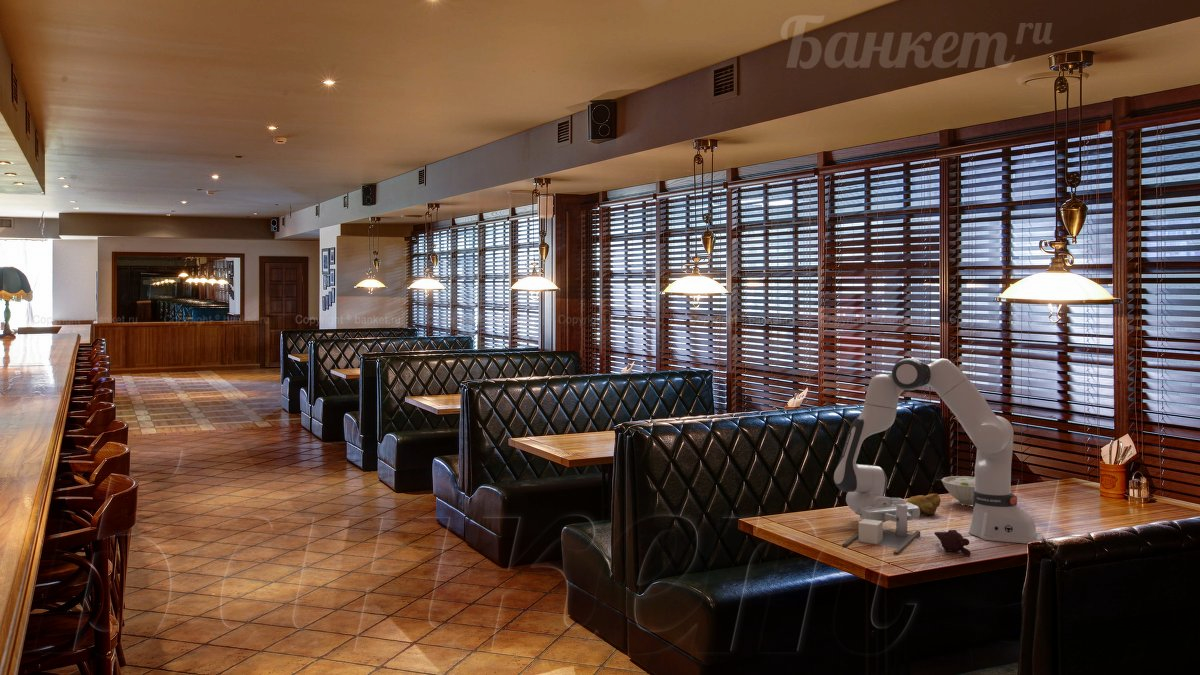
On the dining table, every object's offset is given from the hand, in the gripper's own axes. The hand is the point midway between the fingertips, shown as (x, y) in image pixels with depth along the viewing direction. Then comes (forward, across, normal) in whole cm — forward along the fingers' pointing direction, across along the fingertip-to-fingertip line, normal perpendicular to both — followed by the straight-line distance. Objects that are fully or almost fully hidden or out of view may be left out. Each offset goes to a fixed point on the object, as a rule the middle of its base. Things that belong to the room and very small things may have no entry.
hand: (903, 518), depth 295 cm
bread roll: (-27, +26, +7) cm, 38 cm away
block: (+1, -13, +6) cm, 14 cm away
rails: (+2, -9, +7) cm, 12 cm away
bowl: (-34, +52, +7) cm, 63 cm away
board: (0, -7, +7) cm, 10 cm away
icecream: (+15, +7, +7) cm, 18 cm away
